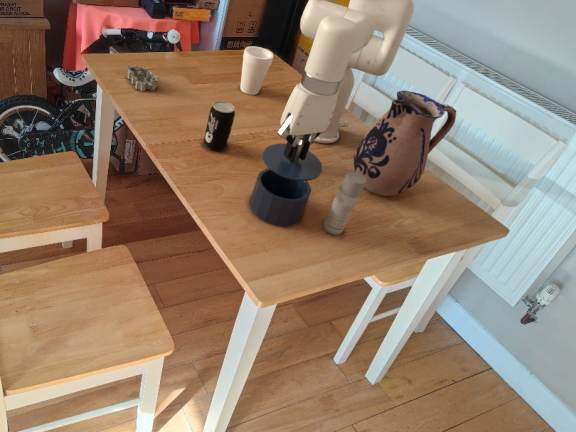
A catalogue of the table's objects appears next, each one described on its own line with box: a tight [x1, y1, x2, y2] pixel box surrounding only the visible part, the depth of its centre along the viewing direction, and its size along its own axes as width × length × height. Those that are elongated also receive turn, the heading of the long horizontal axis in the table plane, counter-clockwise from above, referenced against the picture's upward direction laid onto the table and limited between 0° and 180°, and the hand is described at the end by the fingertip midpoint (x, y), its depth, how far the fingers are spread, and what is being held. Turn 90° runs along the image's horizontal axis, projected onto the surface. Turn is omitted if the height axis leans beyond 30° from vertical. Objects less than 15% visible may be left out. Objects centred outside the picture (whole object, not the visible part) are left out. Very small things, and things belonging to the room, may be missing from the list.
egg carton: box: [127, 65, 160, 92], centre depth 160 cm, size 11×8×4 cm
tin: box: [249, 167, 312, 227], centre depth 121 cm, size 13×13×8 cm
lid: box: [262, 139, 323, 182], centre depth 114 cm, size 14×14×6 cm
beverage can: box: [203, 100, 236, 152], centre depth 136 cm, size 7×7×12 cm
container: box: [322, 170, 366, 236], centre depth 116 cm, size 5×5×15 cm
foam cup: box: [239, 45, 274, 96], centre depth 166 cm, size 10×9×13 cm
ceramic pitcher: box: [352, 90, 457, 197], centre depth 131 cm, size 18×21×25 cm
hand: (293, 156), depth 114 cm, fingers closed on lid, 2 cm apart
